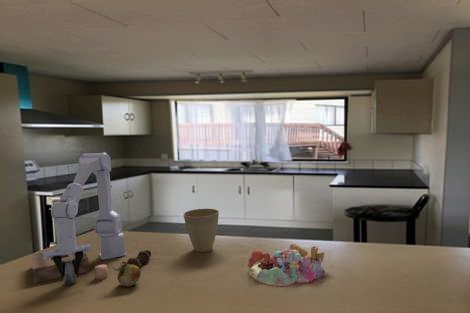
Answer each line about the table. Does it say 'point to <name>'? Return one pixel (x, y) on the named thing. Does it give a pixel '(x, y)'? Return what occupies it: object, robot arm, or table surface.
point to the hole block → (53, 267)
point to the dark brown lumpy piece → (140, 258)
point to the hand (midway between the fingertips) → (69, 275)
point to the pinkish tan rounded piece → (101, 272)
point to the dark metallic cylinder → (69, 272)
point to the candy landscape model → (286, 266)
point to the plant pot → (202, 228)
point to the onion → (127, 274)
